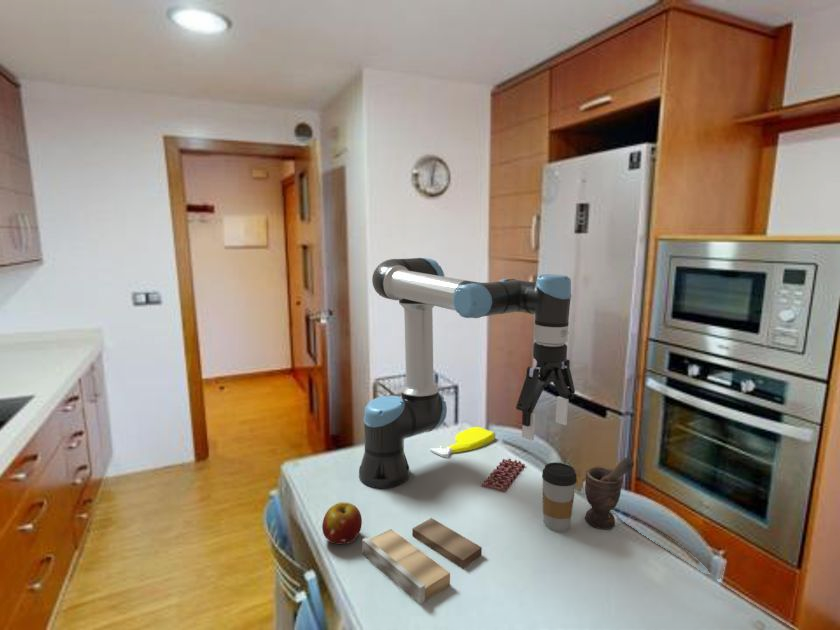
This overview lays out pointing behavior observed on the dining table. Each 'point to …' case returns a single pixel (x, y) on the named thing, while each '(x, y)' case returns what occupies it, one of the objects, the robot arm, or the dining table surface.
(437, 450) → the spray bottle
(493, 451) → the dining table surface
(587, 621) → the dining table surface
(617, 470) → the mortar and pestle
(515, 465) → the chocolate bar
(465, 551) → the walnut plank
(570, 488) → the coffee cup
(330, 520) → the fruit
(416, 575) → the plank row
